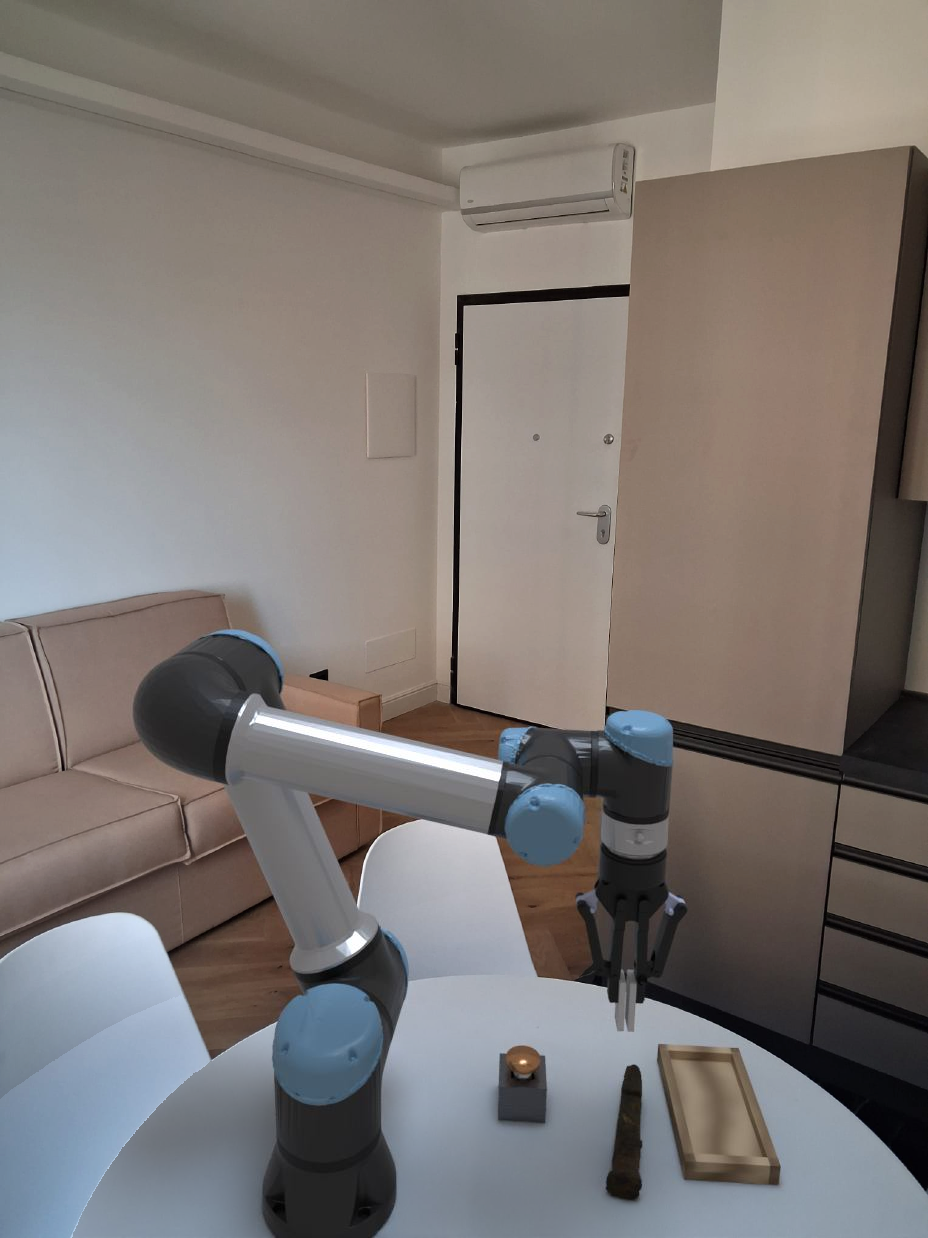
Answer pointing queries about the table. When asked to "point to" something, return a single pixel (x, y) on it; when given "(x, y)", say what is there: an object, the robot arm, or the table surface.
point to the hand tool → (627, 1140)
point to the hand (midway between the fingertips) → (624, 1024)
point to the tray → (716, 1116)
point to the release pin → (522, 1061)
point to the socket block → (522, 1094)
